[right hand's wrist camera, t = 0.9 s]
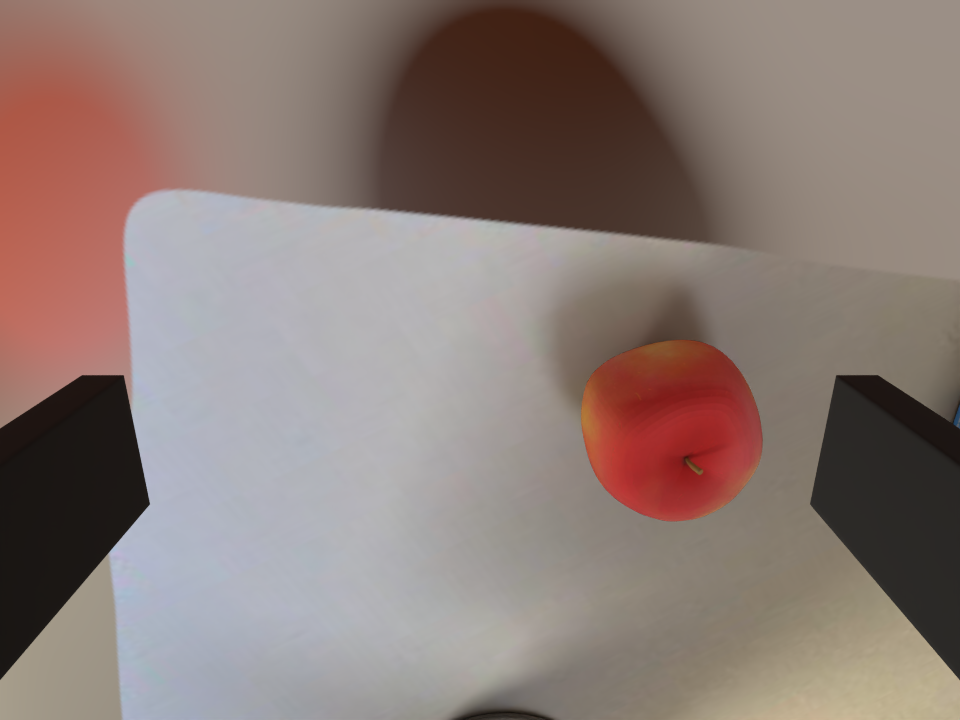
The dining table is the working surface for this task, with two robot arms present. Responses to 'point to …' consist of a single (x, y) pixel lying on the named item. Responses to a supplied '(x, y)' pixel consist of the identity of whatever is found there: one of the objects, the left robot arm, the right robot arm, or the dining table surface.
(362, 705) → the dining table surface
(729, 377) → the apple
